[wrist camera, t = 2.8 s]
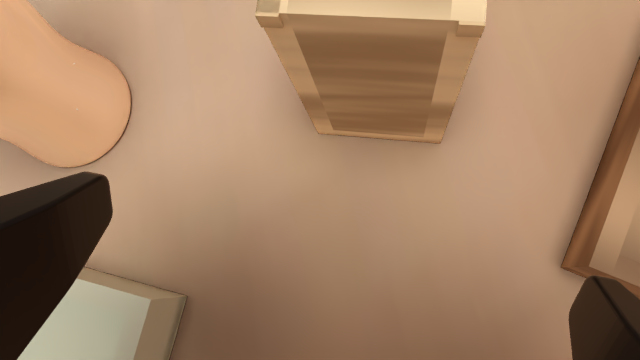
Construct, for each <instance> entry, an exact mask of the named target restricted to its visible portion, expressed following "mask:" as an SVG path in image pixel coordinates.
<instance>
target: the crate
mask: <svg viewBox="0 0 640 360" xmlns="http://www.w3.org/2000/svg"><path fill="white" fill-rule="evenodd" d="M561 268H563V269H566V270H568V271H570V272H573V273H575V274H578V275H580V276H583V277H585V278H588V277H589V276H591V275H597V276H602V277H607V278H612V279H615V280H617V281H618V282H620V283H621V284H622V285H623V286H624V287H626V288H627V289H628V290H629V291H630V292H632V293H633V294H634V295H635V296H636V297H638V298H639V299H640V58H639V60H638V63H637V66H636V68H635V71H634V74H633V76H632V79H631V82H630V84H629V87H628V90H627V92H626V95H625V98H624V100H623V103H622V106H621V108H620V111H619V114H618V116H617V119H616V122H615V124H614V127H613V130H612V132H611V135H610V138H609V140H608V143H607V146H606V148H605V151H604V154H603V156H602V159H601V162H600V164H599V167H598V170H597V172H596V175H595V178H594V180H593V183H592V186H591V188H590V191H589V194H588V196H587V199H586V202H585V204H584V207H583V210H582V212H581V215H580V218H579V220H578V223H577V226H576V228H575V231H574V234H573V236H572V239H571V242H570V244H569V247H568V250H567V252H566V255H565V258H564V260H563V263H562V266H561Z"/></svg>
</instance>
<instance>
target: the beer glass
mask: <svg viewBox="0 0 640 360" xmlns="http://www.w3.org/2000/svg"><path fill="white" fill-rule="evenodd" d="M130 109H131V96H130V90H129V86H128V84H127V81H126V79H125V77H124V76H123V74H122V73H121V71H120V70H119V69H118V68H117V67H116V65H114V64H113V63H112V62H111V61H109V60H108V59H106V58H105V57H103V56H101V55H99V54H97V53H95V52H92V51H90V50H88V49H85V48H83V47H80V46H78V45H76V44H74V43H72V42H70V41H69V40H67V39H66V38H64V37H63V36H62V35H60V34H59V33H58V32H57V31H56V30H54V29H53V28H52V27H51V26H50V25H49V23H48V22H47V21H46V20H45V19H44V18H43V17H42V16H41V15H40V14H39V13H38V12H37V10H36V9H35V8H34V7H33V6H32V5H31V4H30V2H29V1H28V0H0V139H3V140H6V141H8V142H10V143H12V144H14V145H16V146H18V147H19V148H21V149H23V150H24V151H26V152H27V153H29V154H30V155H32V156H34V157H35V158H37V159H39V160H40V161H42V162H45V163H47V164H50V165H53V166H57V167H77V166H82V165H85V164H88V163H91V162H93V161H95V160H97V159H98V158H100V157H101V156H103V155H104V154H105V153H107V152H108V151H109V150H110V149H111V148H112V147H113V146H114V145H115V144H116V142H117V141H118V140H119V138H120V137H121V135H122V133H123V132H124V130H125V127H126V125H127V122H128V119H129V115H130Z"/></svg>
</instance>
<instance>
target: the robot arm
mask: <svg viewBox="0 0 640 360" xmlns="http://www.w3.org/2000/svg"><path fill="white" fill-rule="evenodd" d="M112 213H113V209H112V201H111V194H110V186H109V181H108V179H107V177H106V176H104V175H102V174H97V173H92V172H81V173H77V174H74V175H71V176H67V177H64V178H61V179H57V180H54V181H51V182H47V183H44V184H41V185H37V186H34V187H30V188H27V189H24V190H20V191H17V192H14V193H10V194H7V195H4V196H0V360H17V359H18V358H19V356H20V355H21V354H22V352H23V351H24V350H25V348H26V347H27V346H28V344H29V343H30V342H31V340H32V339H33V338H34V336H35V335H36V334H37V332H38V331H39V330H40V328H41V327H42V326H43V324H44V323H45V322H46V320H47V319H48V318H49V316H50V315H51V314H52V312H53V311H54V310H55V308H56V307H57V306H58V304H59V303H60V302H61V300H62V299H63V297H64V296H65V295H66V293H67V292H68V291H69V289H70V288H71V286H72V285H73V283H74V282H75V280H76V279H77V277H78V276H79V274H80V272H81V271H82V269H83V267H84V266H85V264H86V262H87V260H88V259H89V257H90V255H91V254H92V252H93V250H94V249H95V247H96V245H97V244H98V242H99V240H100V238H101V237H102V235H103V233H104V232H105V230H106V228H107V227H108V225H109V223H110V221H111V218H112ZM569 328H570V338H571V347H572V357H573V360H640V299H639V298H638V297H636V296H635V295H634V294H633V293H632V292H630V291H629V290H628V289H627V288H626V287H624V286H623V285H622V284H621V283H620V282H618V281H617V280H615V279H612V278H607V277H602V276H597V275H591V276H589V277H588V278H587V279H586V280H585V281H584V283H583V285H582V287H581V289H580V291H579V293H578V295H577V297H576V299H575V301H574V302H573V304H572V306H571V309H570V312H569Z"/></svg>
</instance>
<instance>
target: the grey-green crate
mask: <svg viewBox="0 0 640 360" xmlns="http://www.w3.org/2000/svg"><path fill="white" fill-rule="evenodd" d="M186 299H187V296H186V295H182V294H179V293H175V292H171V291H168V290H164V289H161V288H157V287H154V286H150V285H146V284H143V283H139V282H136V281H132V280H129V279H125V278H122V277H118V276H114V275H111V274H107V273H104V272H100V271H97V270H93V269H90V268H86V267H83V269H82V271H81V272H80V274H79V276H78V277H77V279H76V280H75V282H74V283H73V285H72V286H71V288H70V289H69V291H68V292H67V293H66V295H65V296H64V297H63V299H62V300H61V302H60V303H59V304H58V306H57V307H56V308H55V310H54V311H53V312H52V314H51V315H50V316H49V318H48V319H47V320H46V322H45V323H44V324H43V326H42V327H41V328H40V330H39V331H38V332H37V334H36V335H35V336H34V338H33V339H32V340H31V342H30V343H29V344H28V346H27V347H26V348H25V350H24V351H23V352H22V354H21V355H20V356H19V358H18V359H17V360H169V359H170V355H171V352H172V348H173V344H174V341H175V337H176V334H177V330H178V327H179V323H180V320H181V316H182V313H183V309H184V306H185V302H186Z"/></svg>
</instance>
